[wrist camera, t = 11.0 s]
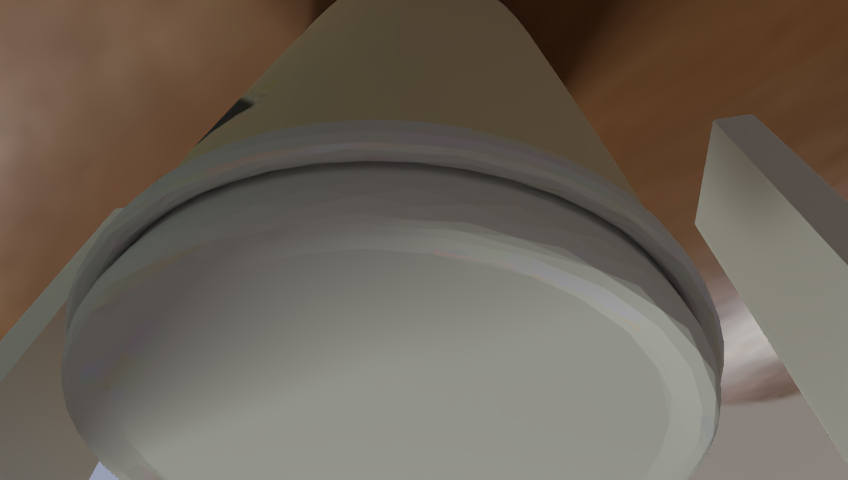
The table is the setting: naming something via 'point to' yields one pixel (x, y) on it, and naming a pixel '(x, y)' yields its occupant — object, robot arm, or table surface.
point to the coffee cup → (395, 279)
